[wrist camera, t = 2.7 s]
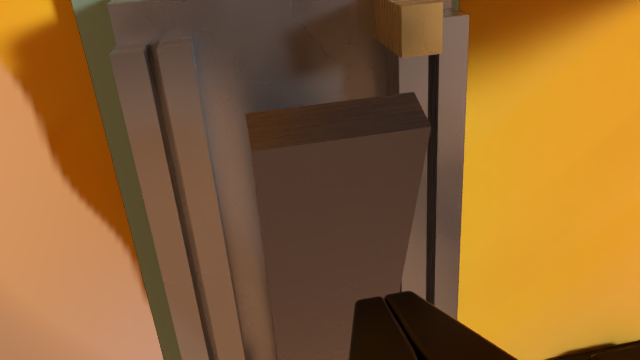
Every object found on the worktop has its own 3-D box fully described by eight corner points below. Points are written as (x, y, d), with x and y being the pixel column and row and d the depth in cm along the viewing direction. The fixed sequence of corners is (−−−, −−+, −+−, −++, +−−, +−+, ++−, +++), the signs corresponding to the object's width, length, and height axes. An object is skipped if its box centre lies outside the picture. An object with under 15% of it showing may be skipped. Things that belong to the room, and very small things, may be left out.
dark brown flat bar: (378, 384, 21) (386, 410, 20) (271, 405, 20) (275, 433, 20) (434, 88, 11) (452, 123, 10) (223, 116, 10) (228, 155, 10)
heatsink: (415, 349, 25) (465, 453, 20) (209, 388, 24) (210, 509, 19) (415, -39, 18) (493, -22, 13) (122, -11, 17) (88, 20, 12)
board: (442, 350, 26) (447, 359, 25) (178, 401, 24) (177, 412, 24) (455, -113, 18) (463, -115, 17) (55, -81, 16) (50, -81, 16)
